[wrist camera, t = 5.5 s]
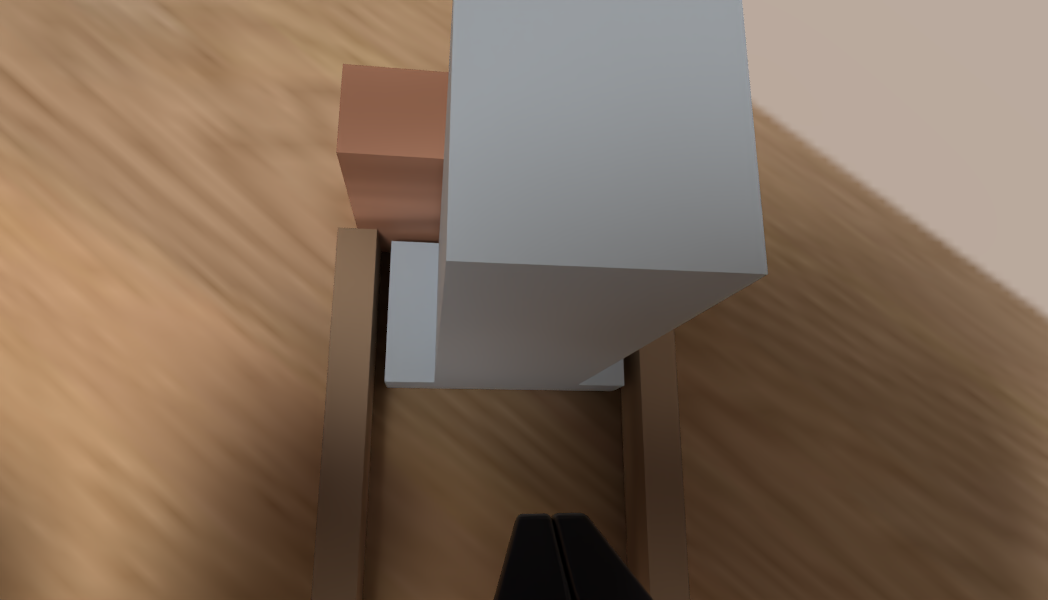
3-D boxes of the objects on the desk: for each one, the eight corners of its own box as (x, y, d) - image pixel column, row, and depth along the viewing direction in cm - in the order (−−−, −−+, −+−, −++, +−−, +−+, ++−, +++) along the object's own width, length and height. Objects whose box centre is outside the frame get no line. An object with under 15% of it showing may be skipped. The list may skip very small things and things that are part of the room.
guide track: (675, 817, 14) (811, 1005, 9) (305, 845, 13) (232, 1072, 8) (645, 202, 17) (731, 94, 12) (350, 186, 16) (318, 61, 11)
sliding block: (611, 390, 15) (866, 278, 6) (387, 387, 15) (329, 255, 6) (607, 264, 16) (830, 9, 7) (393, 255, 15) (350, -39, 7)
